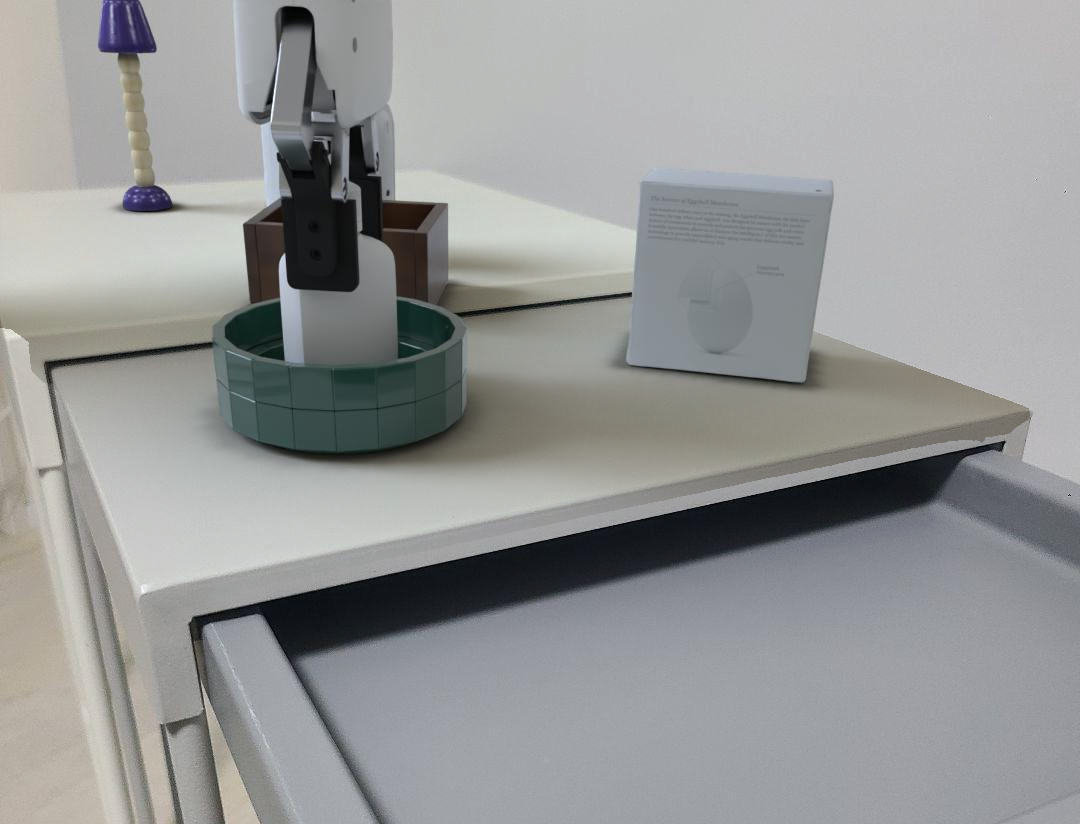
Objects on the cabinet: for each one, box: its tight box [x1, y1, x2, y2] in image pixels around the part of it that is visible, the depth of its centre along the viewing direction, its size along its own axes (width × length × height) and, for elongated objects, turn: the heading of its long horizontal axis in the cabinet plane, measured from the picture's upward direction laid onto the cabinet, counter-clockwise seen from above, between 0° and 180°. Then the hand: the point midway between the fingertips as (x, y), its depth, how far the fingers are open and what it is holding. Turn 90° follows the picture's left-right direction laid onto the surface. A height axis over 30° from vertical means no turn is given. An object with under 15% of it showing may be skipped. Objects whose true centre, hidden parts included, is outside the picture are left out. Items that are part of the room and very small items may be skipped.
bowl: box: [211, 296, 468, 455], centre depth 54 cm, size 12×12×4 cm
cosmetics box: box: [625, 167, 835, 383], centre depth 62 cm, size 10×6×10 cm, turn 77°
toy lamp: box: [97, 0, 173, 212], centre depth 92 cm, size 5×5×17 cm
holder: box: [242, 198, 449, 306], centre depth 72 cm, size 12×10×6 cm
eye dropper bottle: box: [279, 154, 398, 365], centre depth 52 cm, size 4×6×12 cm
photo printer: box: [260, 102, 396, 208], centre depth 80 cm, size 10×4×12 cm, turn 69°
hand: (338, 268), depth 51 cm, fingers closed on eye dropper bottle, 5 cm apart
